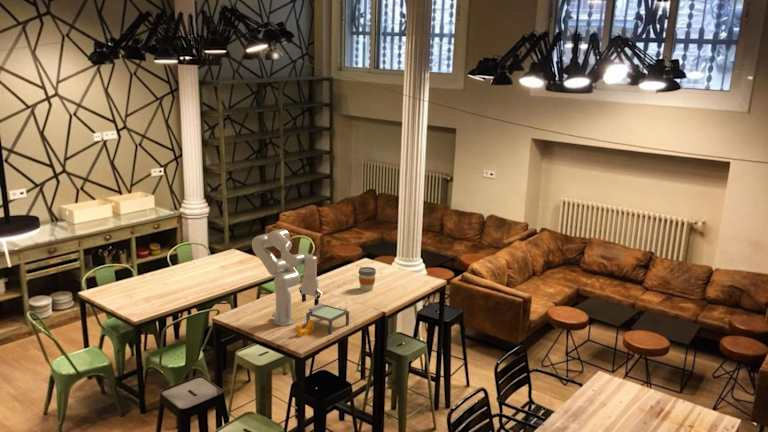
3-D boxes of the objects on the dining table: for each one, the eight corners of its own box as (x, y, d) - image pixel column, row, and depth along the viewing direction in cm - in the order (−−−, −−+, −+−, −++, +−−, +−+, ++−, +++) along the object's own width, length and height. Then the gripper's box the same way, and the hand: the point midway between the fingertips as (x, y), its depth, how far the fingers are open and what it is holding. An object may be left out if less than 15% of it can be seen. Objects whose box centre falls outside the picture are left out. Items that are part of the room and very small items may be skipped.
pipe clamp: (301, 337, 409) (301, 327, 407) (296, 335, 411) (296, 325, 410) (315, 331, 418) (315, 321, 417) (310, 329, 421) (310, 319, 419)
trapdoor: (307, 313, 424) (307, 309, 424) (322, 306, 436) (322, 302, 436) (330, 320, 415) (330, 315, 414) (344, 313, 427) (344, 308, 426)
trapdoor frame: (306, 327, 424) (306, 313, 422) (325, 317, 439) (325, 304, 437) (330, 334, 414) (330, 320, 412) (349, 324, 429) (349, 311, 427)
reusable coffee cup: (378, 290, 495) (379, 270, 491) (364, 293, 488) (364, 273, 484) (369, 285, 505) (369, 265, 501) (354, 288, 498) (355, 268, 494)
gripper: (295, 274, 409) (295, 301, 413) (317, 280, 400) (317, 308, 404) (303, 271, 415) (302, 298, 419) (325, 277, 406) (325, 304, 410)
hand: (310, 303), depth 411 cm, fingers open, 9 cm apart
